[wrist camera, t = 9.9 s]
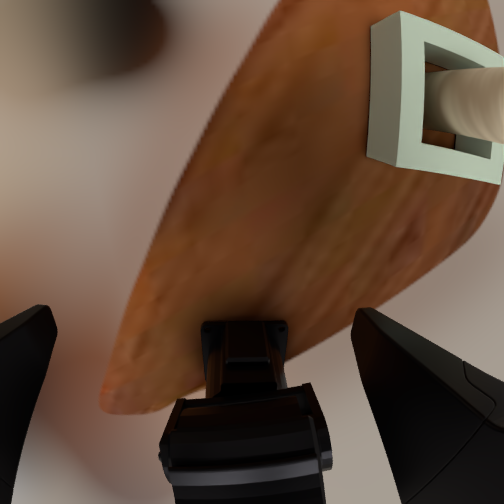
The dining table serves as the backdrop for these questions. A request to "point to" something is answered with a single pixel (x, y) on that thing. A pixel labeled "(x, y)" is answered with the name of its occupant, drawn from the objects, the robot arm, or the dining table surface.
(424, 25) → the socket
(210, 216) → the dining table surface
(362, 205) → the dining table surface
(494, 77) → the peg
